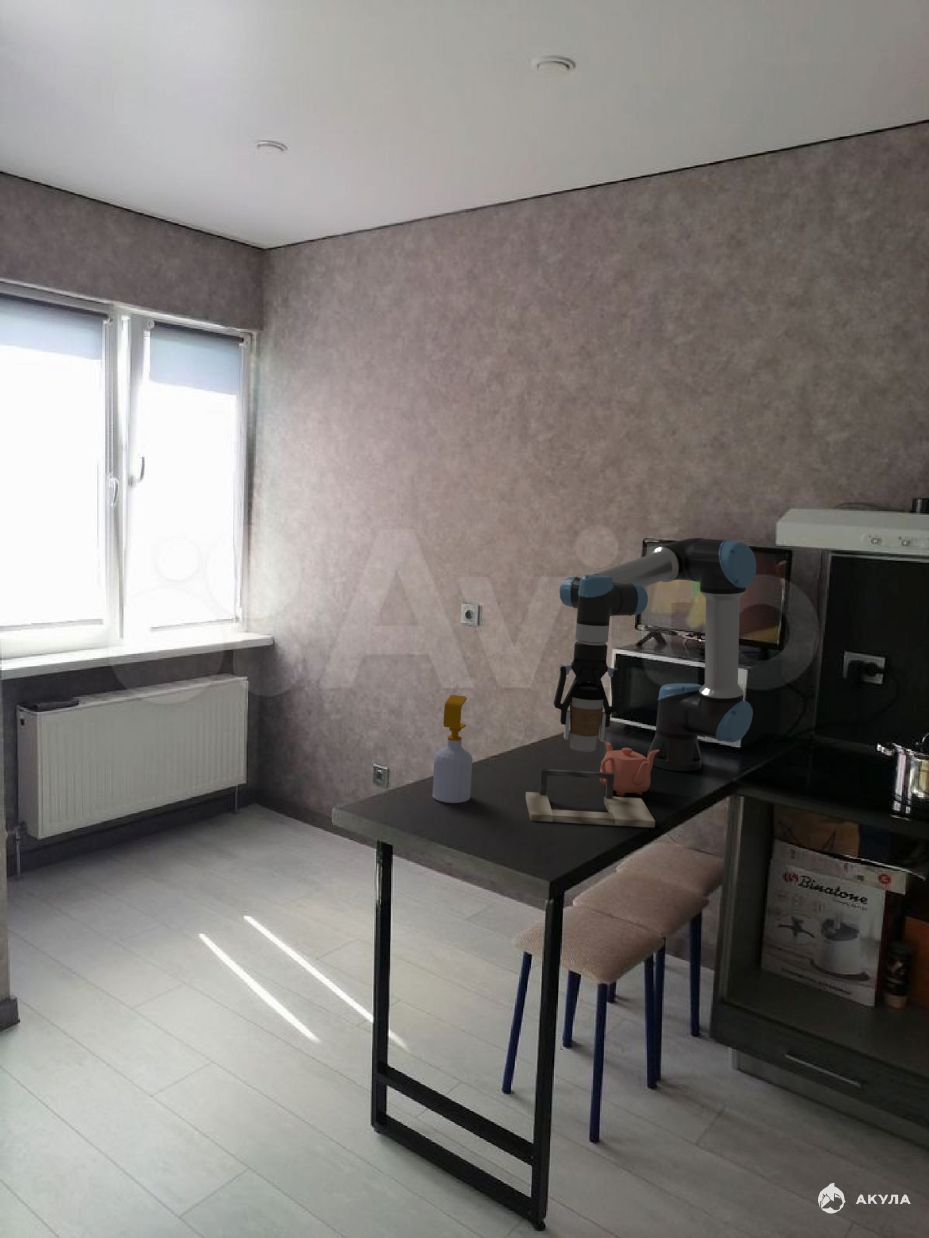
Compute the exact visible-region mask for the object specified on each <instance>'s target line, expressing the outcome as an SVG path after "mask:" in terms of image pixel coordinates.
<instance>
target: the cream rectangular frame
mask: <svg viewBox="0 0 929 1238" xmlns="http://www.w3.org/2000/svg"><path fill="white" fill-rule="evenodd" d="M548 776H550V777H551V776H552V777H566V778H567V777H571V778H587V779H600V778H601V779H607V780H606V786H605V787H606V788H605V795H604V796H603V803H604V806H605V808H606V810H607V812H605V811H604V812H603V811H602V812H601V811H583V810H568V809H552V807H551V804H550V803H551V802H550V801H549V800H550V799H549V797H548V796H549V795H548V794H547V790H548V789H547V786H548ZM539 780H540V781H539V790H538V791H539V792H531V791H525V801H526V806H527V811H528V815H529V820H530V821H531V822H549V823H568V824H569V823H570V824H582V825H583V824H586V825H600V826H601V825H603V826H605V825H606V826H621V827H639V828H655V827H656V820H655V818H654V817H653V815H652V813H651V812H650V811H649V809H648V807H647V806H646V804H645V802H644V800H643V799H642V798H641V797H626V796H625V797H624V796H613V795H614V790H613V785H614V773H609V772H607V773H606V772H600V771H588V770H586V771H585V770H571V769H570V770H567V769H553V768H552V769H551V768H540V778H539Z"/></svg>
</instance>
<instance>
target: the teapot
mask: <svg viewBox="0 0 929 1238" xmlns="http://www.w3.org/2000/svg"><path fill="white" fill-rule="evenodd" d="M604 744H605V747H606V753H605V755H604V757H603V759H602V760H601V762H600V770H599V772H606V773H607V772H609V773H614V785H613V791H614V792H616V796H618V797H624V796H625V797H626V794H631V793H634V794H635V795H643V792H647V791H648V790H649V788H650V786H651V771H652V769H653V765H652V764H653V759H654V756H655V754H656V753H657V752H658V751H659V750H653V751H651V752H650V753H649V755H648V757H647V756H646V757H645V756H644V755H643V754H641V753H639V752H636V751H633V749H632V748H630V747H623V748H621V749H618V750H613V749H614V748H613V746H612V744H611V742H609V741H606V740H604ZM606 780H607V779H601V778H599V782H600V783H601V784H603V785H604V788H605V789H606Z"/></svg>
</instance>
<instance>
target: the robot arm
mask: <svg viewBox="0 0 929 1238" xmlns="http://www.w3.org/2000/svg"><path fill="white" fill-rule="evenodd" d="M756 573H757V561H756V557H755V554H754V552H753V550H752V549H751V548H750V546H749V545H748V544H746V543H744V542H742V541H736V540H732V539H722V538H721V539H716V538H703V537H691V538H685V539H680V540H678V541H674V542H670V543H667V544H665V545H662V546H660V547H657V548H654V550H652V551H651V553H650V554H648V555H645V556H642V557H640V558H637V559H633V560H631V561H628V562H625V563H622V564H619V565H616V566H613V567H611V568H608V569H606V570H605V569H604V570H602V571H600V572H596V573H594V574H584V575H582V576H581V577H579V576H568V577H566V578H565V579H563V581H562V582H561V583H560V584H561V585H559V586H560V587H559V590H558V591H559V599H560V601H561V603H562V604H564V605H565V606H567V607H571V608H574V609H577V614H576V615H577V616H576V623H575V624H576V625H575V635H574V636H575V637H574V639H575V640H576V642H574V649H573V660H572V662H571V663H570V664H565V665H564V664H560V665H559V666H558V667H559V678H558V683H557V687H556V692H555V695H554V699H553V706H554V708H555V709H559V710H560V720H559V722H560V724H561V725H564V728H563V738H564V740H565V741H566V740H567V741H568V740H569V736H570V735H569V734H570V709H569V708H570V704H571V702H572V697H571V693H572V692H573V688H574V687H576V688H579V686H580V685H581V683H582V682H583V683H586V682H591V683H596V686H597V689H598V690H600V689H604V695H605V699H603V710H604V711H602V717H601V722H600V728H599V733H598V740H599V742H601V743H602V742H603V743H605V730H606V728H609V727H610V724H611V723H610V722H611V715H612V714H613V713H615V712H616V713H618V712H619V711H620V703H619V701H620V700H619V687H618V678H619V676H620V670H619V669H618V668H616V667H614V668H613V667H609V666H608V662H607V657H608V645H607V643H608V642H609V634H610V633H609V632H610V621H611V617H614V616H615V617H617V616H618V617H619V616H620V617H621V616H628V617H631V616H636V615H641V614H642V613H643V612H644V611H645V610H646V608H647V607H648V602H649V596H648V592H647V590H646V587H648V586H651V585H653V584H656V583H659V582H662V583H671V582H673V581H689V582H690V581H692V582H697V583H699V592H700V594H701V595H702V596H704V598H705V628H704V629H705V634H704V635H705V636H704V637H705V640H704V641H705V642H704V644H705V645H704V684H703V685H701V684H698V683H687V682H686V683H685V682H684V683H683V682H682V683H681V682H680V683H679V682H678V683H667V684H663V685H662V686H661V687H660V689H659V691H658V692H659V693H658V698H657V710H656V722H655V723H656V724H655V725H656V726H655V735H654V738H653V740H652V742H651V745H650V747H649V749H648V750H647V754H646V755H647V756H646V758H647V757H648V755H649V753H650V752H651V751H653V750H659V751H658V752H657V753H656V754H655V756H654V759H653V764H652V767H656V768H660V769H663V770H668V771H677V772H693V770H695V771H698V769H699V770H700V769H701V768H702V765H703V764H702V763H703V760H702V759H703V758H702V755H701V750H700V745H699V742H698V741H699V740H698V737H699V735H701V736H702V737H703V736H704V737H707V738H710V739H714V740H717V741H719V742H726V743H735V742H736V743H737V742H738V741H740V740H741V739H743V737H744V736H746V734H747V732H748V730H749V729H750V727H751V724H752V722H753V721H752V720H753V711H754V710H753V707H752V705H751V703H749V702H748V701H747V700H746V701H745V700H744V690H743V689H742V688H741V687H740V686H739V652H740V650H739V649H740V648H739V647H740V646H739V644H740V643H739V641H740V607H741V606H740V604H741V603H740V599H741V597H742V596H744V594H745V593H747V587H749V586H751V584H753V582H754V579H755V578H754V577H756ZM571 671H573V673H574V675H575V676H574V679H573V682H572V684H571V686H570V688H569V690H568V692H567V693H566V696H565V697H564V700H563V699H562V698H563V694H564V690H565V687H566V686H565V685H566V681H567V676H568V675H570V672H571ZM606 673H608V677H610V679H609V680H610V681H609V682H610V693H611V697H610V698H611V705H610V703H609V700H608V697H607V694H606V691H605V687H604V685H603V681H602V678H603V677H604V675H606ZM572 686H573V687H572ZM603 687H604V688H603ZM562 700H563V702H562Z"/></svg>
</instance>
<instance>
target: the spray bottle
mask: <svg viewBox="0 0 929 1238" xmlns="http://www.w3.org/2000/svg"><path fill="white" fill-rule="evenodd" d="M467 700H468V698H467V696H466V695H465V696H464V695H456V694H451V695H450V696H449V697H448V698H447V700H446V701H445V703H444V708H443V727H444V728H448V729H449V730H448V731H449V732H451V735H447V744H446V746H444V747H442V748H440V749H439V750H437V751H436V753H435V754H434V760H433V776H432V777H433V778H432V779H433V781H432V795H431V796H432V798H433V799H434V800H436V801H438V802H441V803H445V804H462V803H465V802H467V801H469V800H470V799H471V789H472V787H471V786H472V774H473V773H472V772H473V770H472V769H473V756H472V754H471V753H470V752H469V751H468V750H467V749H466V748H464V747H463V746H462V741H463V740H462V739H463V737H462V736H461V735H459V732H461V731H462V730H463V729H464V728H466V727H467V724H466V723H462V722H461V719H462V708H463V705H464V704H465V703H466V701H467Z"/></svg>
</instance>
